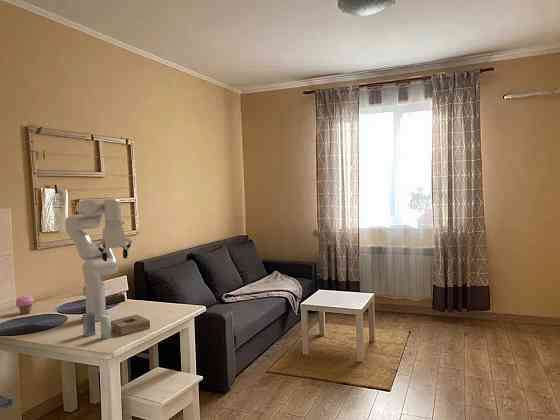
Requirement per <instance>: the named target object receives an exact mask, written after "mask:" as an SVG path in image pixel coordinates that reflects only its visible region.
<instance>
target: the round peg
mask: <svg viewBox="0 0 560 420" xmlns="http://www.w3.org/2000/svg"><path fill="white" fill-rule="evenodd" d="M111 317H112V316H111V315H110V314H109V315H103V316H101V317H100V321H99V323H100V338H101V340H108V339H112V330H111V321H112V319H111Z"/></svg>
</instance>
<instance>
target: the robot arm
mask: <svg viewBox="0 0 560 420" xmlns="http://www.w3.org/2000/svg"><path fill="white" fill-rule="evenodd" d="M121 209H122V205H121V200H120V199H119V198H90V199H82V200H80V201H78V202H77V203H76V205H75V210H76V212H77V213H78V214H73V215H69V216H68V217H66V219H65V221H64V225H65V226H64V227H65V231H66V233H67V235H68V236H69V238H70V239H71V241H72V242H73V243H74V245H75V246H74V247H75V248H76V251H77V253H78V256H79V257H80V259H81V260H82V261H83V263H82V266H81V269H82V274H83V280H84V290H85V291H84V292H85V295H84V296H85V311H86V312H85V313H90V312H92V313H94V315H95V322H100V317H101V316H103V315H110V313H108V312H107V307H106V306H107V305H106V304H105V298H106V288H105V287H106V286H105V283H104V281H103V280H102V279H101V278H100V277H104V276H105V277H106V276H110V275H114V274H116V273H117V272H118V268H119V266H118V262H117V259H116V257H115V255H114V253H113V251H112V249H115V248H122V258H123V259H128V256H129V253H128V250H129V249H130V248H131V247H132V246H131V245H132V244H133V240H132V239H130V238H127V237H126V231H125V228H124V226H123V225H125V221H123V220H122V210H121ZM103 218H104V227H103V228H102V236H101V240H100V241H99V242H93V240H92V238H91V236H90V235H89V234H88V233H87V232H85V231H83V230H92V229H98V228H99V227H100V226H101V224H102V222H103Z"/></svg>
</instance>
